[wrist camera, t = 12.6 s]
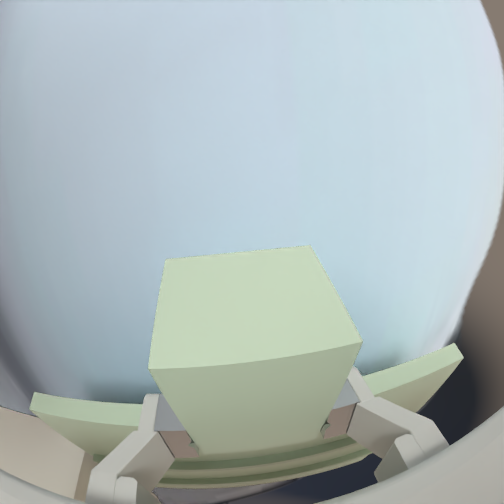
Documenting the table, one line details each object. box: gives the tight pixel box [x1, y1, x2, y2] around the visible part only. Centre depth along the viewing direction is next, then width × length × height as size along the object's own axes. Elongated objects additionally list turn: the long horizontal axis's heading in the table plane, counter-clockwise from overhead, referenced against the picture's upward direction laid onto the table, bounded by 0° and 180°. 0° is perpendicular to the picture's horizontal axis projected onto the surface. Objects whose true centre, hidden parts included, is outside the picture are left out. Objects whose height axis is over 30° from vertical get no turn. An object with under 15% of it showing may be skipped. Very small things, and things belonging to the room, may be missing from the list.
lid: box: [29, 245, 463, 489], centre depth 12 cm, size 24×20×4 cm
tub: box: [0, 406, 158, 502], centre depth 11 cm, size 16×18×12 cm
